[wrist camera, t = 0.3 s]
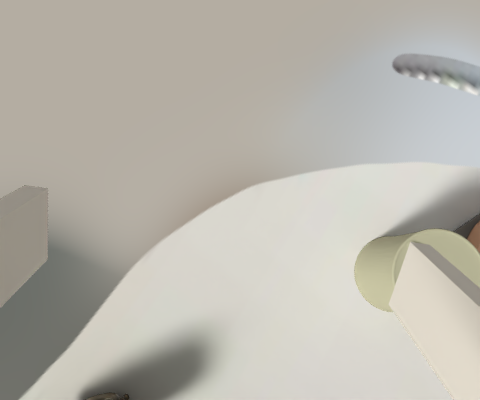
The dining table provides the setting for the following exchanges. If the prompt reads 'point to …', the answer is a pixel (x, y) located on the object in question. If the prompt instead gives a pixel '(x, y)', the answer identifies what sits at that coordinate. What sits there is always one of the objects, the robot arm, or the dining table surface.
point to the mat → (467, 227)
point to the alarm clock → (108, 397)
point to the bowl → (475, 236)
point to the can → (393, 254)
